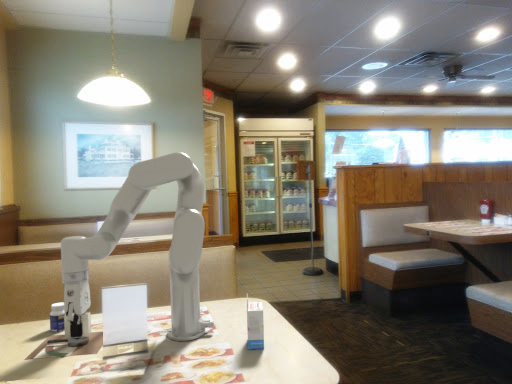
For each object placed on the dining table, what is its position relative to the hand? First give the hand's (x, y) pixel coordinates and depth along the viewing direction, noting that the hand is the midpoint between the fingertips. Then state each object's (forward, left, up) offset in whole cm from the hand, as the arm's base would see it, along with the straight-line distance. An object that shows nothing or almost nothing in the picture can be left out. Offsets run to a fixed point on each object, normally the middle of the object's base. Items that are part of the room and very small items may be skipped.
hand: (78, 334), depth 115 cm
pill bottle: (+11, -14, -4) cm, 18 cm away
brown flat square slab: (+2, 0, -4) cm, 5 cm away
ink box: (-55, +8, -4) cm, 56 cm away
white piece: (+3, 0, -3) cm, 4 cm away
